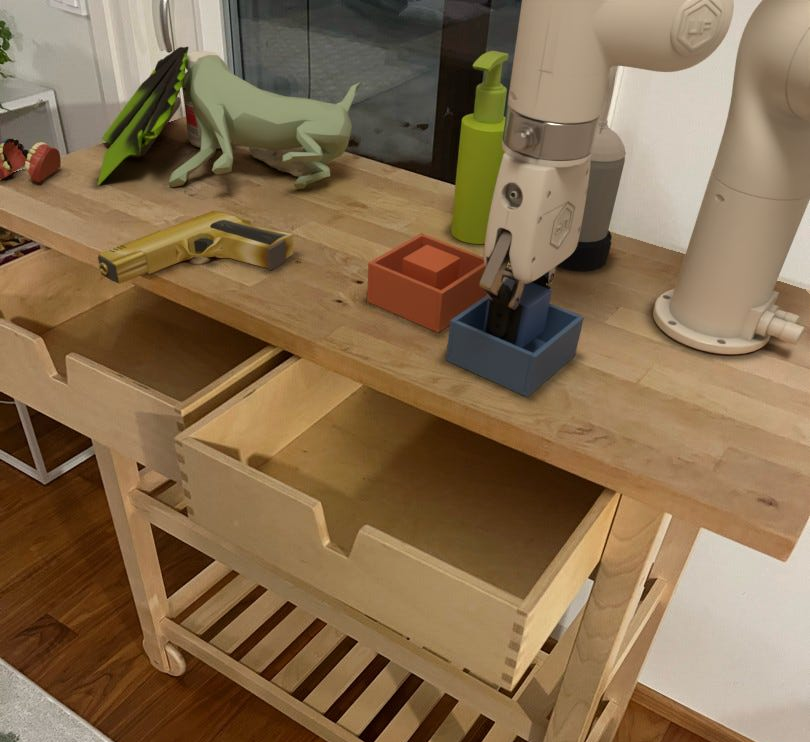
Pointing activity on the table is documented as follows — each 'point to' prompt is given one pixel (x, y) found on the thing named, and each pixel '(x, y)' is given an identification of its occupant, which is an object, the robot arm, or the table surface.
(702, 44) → the robot arm
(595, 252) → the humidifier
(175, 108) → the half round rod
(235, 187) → the table surface
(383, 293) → the terracotta bin
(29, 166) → the dentures
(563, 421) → the table surface
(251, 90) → the statue
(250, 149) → the sponge
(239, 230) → the handgun
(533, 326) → the blue block
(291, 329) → the table surface
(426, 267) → the terracotta block
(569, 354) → the blue bin
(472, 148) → the soap dispenser
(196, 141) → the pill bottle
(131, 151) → the cloth
